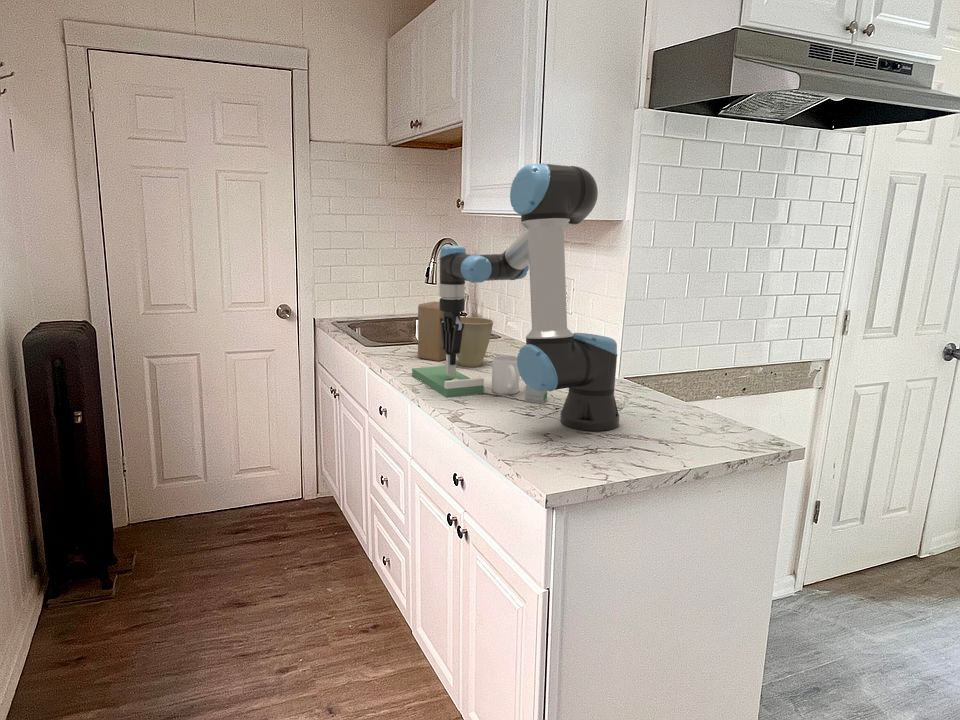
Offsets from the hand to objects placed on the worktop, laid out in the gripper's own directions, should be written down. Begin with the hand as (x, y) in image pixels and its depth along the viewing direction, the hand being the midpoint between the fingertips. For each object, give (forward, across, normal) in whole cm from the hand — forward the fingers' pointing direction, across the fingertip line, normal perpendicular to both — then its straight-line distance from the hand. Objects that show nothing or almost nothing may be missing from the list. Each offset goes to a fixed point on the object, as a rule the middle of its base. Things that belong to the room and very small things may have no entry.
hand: (450, 374), depth 213 cm
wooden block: (+4, +40, -12) cm, 42 cm away
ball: (+2, -4, 0) cm, 5 cm away
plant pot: (+4, +26, -19) cm, 32 cm away
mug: (+4, -12, -13) cm, 18 cm away
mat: (+4, +4, 0) cm, 5 cm away
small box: (+4, -22, -17) cm, 29 cm away
